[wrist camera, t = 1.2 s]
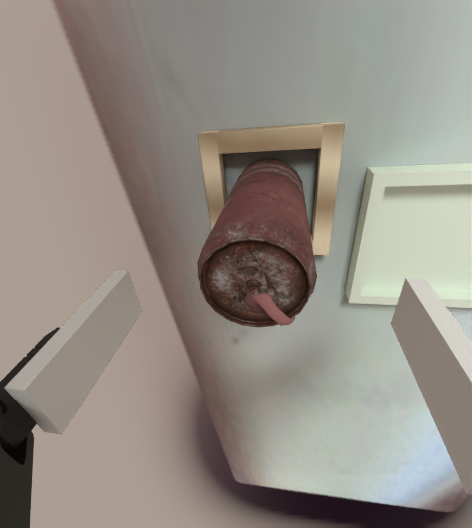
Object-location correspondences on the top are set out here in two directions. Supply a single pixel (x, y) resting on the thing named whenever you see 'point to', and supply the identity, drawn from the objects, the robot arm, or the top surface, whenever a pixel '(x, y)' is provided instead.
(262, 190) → the can
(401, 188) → the tray
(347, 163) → the top surface
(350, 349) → the top surface
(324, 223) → the collar block
